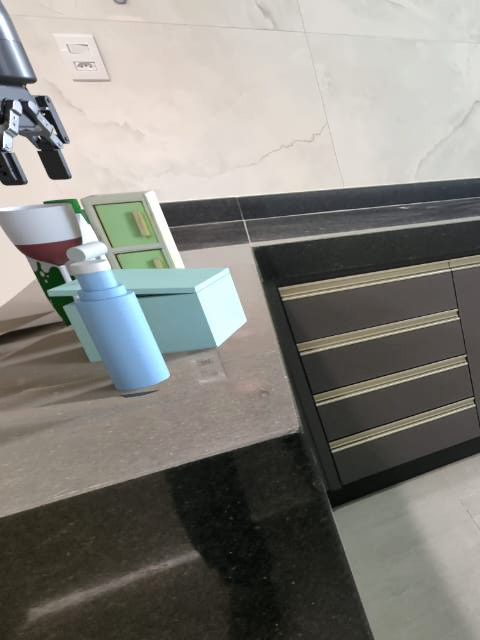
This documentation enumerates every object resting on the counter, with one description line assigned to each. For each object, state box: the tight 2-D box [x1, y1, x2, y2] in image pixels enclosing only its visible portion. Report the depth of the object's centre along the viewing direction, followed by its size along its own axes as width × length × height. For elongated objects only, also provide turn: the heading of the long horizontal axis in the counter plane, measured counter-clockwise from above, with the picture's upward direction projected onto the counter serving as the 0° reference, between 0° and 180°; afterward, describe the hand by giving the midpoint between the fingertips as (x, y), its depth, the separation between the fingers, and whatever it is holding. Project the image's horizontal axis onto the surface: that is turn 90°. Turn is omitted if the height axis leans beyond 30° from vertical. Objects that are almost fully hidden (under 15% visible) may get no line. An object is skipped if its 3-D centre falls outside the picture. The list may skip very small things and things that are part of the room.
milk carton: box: [25, 198, 107, 327], centre depth 89 cm, size 9×9×20 cm
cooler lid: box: [47, 241, 230, 296], centre depth 75 cm, size 16×12×6 cm
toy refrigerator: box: [79, 190, 186, 269], centre depth 87 cm, size 8×7×21 cm
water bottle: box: [70, 259, 171, 398], centre depth 63 cm, size 5×5×16 cm
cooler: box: [63, 272, 248, 363], centre depth 78 cm, size 15×12×9 cm
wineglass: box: [0, 203, 82, 300], centre depth 83 cm, size 8×9×20 cm
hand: (40, 182), depth 68 cm, fingers open, 8 cm apart
